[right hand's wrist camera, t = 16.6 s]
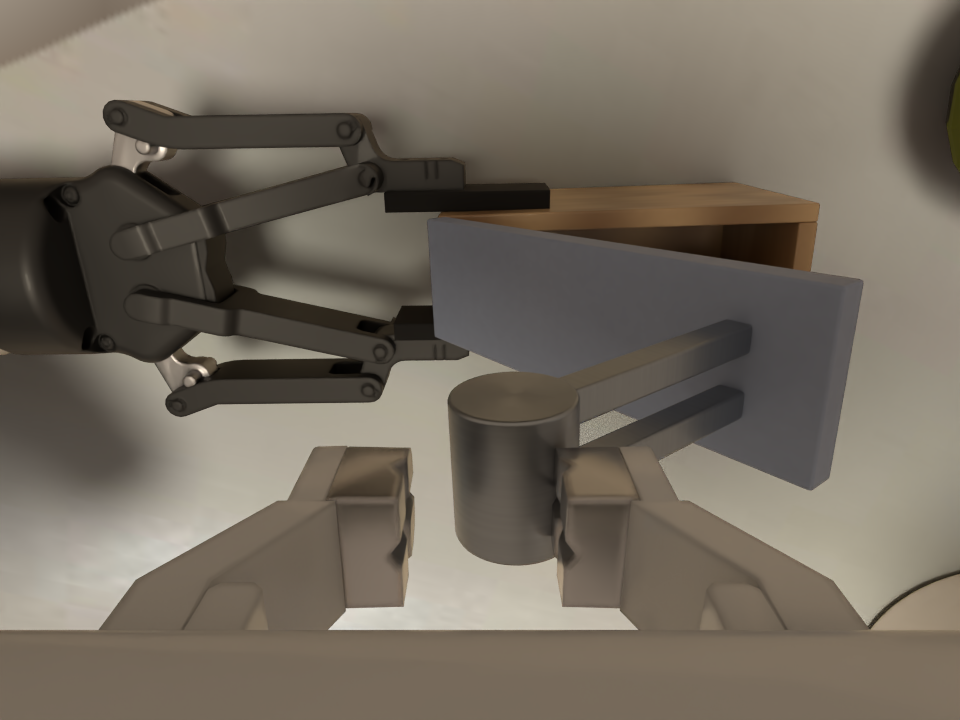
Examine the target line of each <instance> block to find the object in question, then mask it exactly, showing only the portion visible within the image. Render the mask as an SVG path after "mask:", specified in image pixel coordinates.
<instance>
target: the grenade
mask: <svg viewBox="0 0 960 720" xmlns="http://www.w3.org/2000/svg"><path fill="white" fill-rule="evenodd" d="M946 126H947V131H948V137H949V143H950V148H951V154H952V160H953V163H954V164H955V166H956V168H957V169H958V171H959V173H960V67H959V70H958V72H957V74H956V76H955V79H954V81H953V83H952V85H951V92H950V98H949V105H948V112H947V119H946Z"/></svg>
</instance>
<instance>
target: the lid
mask: <svg viewBox="0 0 960 720" xmlns="http://www.w3.org/2000/svg"><path fill="white" fill-rule="evenodd" d="M427 225H428V241H429V256H430V271H431V287H432V302H433V317H434V333H435V337H437V338H439V339H442V340H444V341H447V342H449V343H452V344H454V345H456V346H459V347H461V348H464V349H466V350H469V351H471V352H473V353H476V354H478V355H481V356H483V357H486V358H488V359H490V360H493V361H495V362H498V363H500V364H503V365H505V366H508V367H510V368H512V369H515V370H517V371H520V372H500V373H493V374H487V375H482V376H478V377H475V378H472V379H469V380H467V381H465V382H463V383H461V384H459V385H458V386H456V387H455V388H454V389H453V390H452V391H451V393H450V395H449V397H448V417H449V433H450V450H451V467H452V483H453V500H454V517H455V531H456V535H457V537H458V539H459V541H460V543H461V544H462V545H463V547H465V548H466V549H467V550H468V551H469V552H470V553H472V554H473V555H475V556H477V557H479V558H481V559H484V560H486V561H489V562H493V563H497V564H503V565H530V564H536V563H540V562H544V561H547V560H549V559H552V558H554V557H555V556H553V549H552V541H551V523H552V504H553V503H554V501H555V499H556V498H557V496H556V492H555V486H554V481H553V474H554V454H555V448H576V447H632V446H648V447H650V448H651V449H652V450H653V452H654V454H655V456H656V458H657V460H658V461H659V460H661V459H663V458H665V457H666V456H668V455H670V454H672V453H674V452H676V451H678V450H680V449H682V448H684V447H686V446H688V445H690V444H692V443H695V444H697V445H700V446H702V447H705V448H707V449H709V450H712V451H714V452H717V453H719V454H722V455H724V456H726V457H729V458H731V459H734V460H736V461H739V462H741V463H743V464H746V465H748V466H751V467H753V468H756V469H758V470H761V471H763V472H765V473H768V474H770V475H773V476H775V477H778V478H780V479H782V480H785V481H787V482H790V483H792V484H795V485H797V486H799V487H802V488H804V489H807V490H813V489H814V488H816V487H817V486H819V485H820V484H822V483H823V482H824V481H826V480H827V479H828V478H829V476H830V470H831V465H832V459H833V453H834V448H835V442H836V436H837V430H838V425H839V419H840V413H841V408H842V402H843V396H844V391H845V385H846V379H847V374H848V368H849V362H850V357H851V351H852V345H853V340H854V334H855V328H856V323H857V317H858V311H859V306H860V300H861V294H862V289H863V281H862V280H860V279H855V278H848V277H842V276H835V275H828V274H822V273H815V272H808V271H802V270H795V269H788V268H782V267H775V266H769V265H762V264H755V263H749V262H742V261H735V260H729V259H722V258H715V257H709V256H702V255H695V254H689V253H682V252H675V251H669V250H662V249H655V248H649V247H642V246H635V245H629V244H622V243H616V242H609V241H602V240H596V239H589V238H582V237H576V236H569V235H562V234H556V233H549V232H542V231H536V230H529V229H522V228H516V227H509V226H502V225H496V224H489V223H482V222H476V221H469V220H463V219H456V218H449V217H440V218H433V219H428V220H427ZM612 410H615V411H617V412H619V413H622V414H624V415H627V416H629V417H632V418H634V419H636V420H638V421H636V422H633V423H631V424H629V425H627V426H624V427H622V428H620V429H618V430H615V431H613V432H611V433H609V434H606V435H604V436H602V437H600V438H597V439H595V440H593V441H591V442H588V443H586V444H584V445H582V446H579V434H580V424H581V423H583V422H586V421H588V420H590V419H593V418H595V417H598V416H600V415H602V414H605V413H607V412H610V411H612Z"/></svg>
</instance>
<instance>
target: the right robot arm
mask: <svg viewBox="0 0 960 720" xmlns="http://www.w3.org/2000/svg"><path fill="white" fill-rule="evenodd" d="M412 476H413V463H412V452H411V448H396V447H347V446H325V447H315V448H314V449H313V451H312V453H311V454H310V456H309V458H308V460H307V462H306V464H305V466H304V468H303V470H302V472H301V474H300V476H299V478H298V480H297V482H296V484H295V486H294V488H293V490H292V492H291V494H290V496H289V498H288V500H287V501H276V502H275V503H273V504H271V505H269V506H267V507H266V508H264V509H262V510H260V511H259V512H257V513H255V514H253V515H251V516H250V517H248V518H246V519H244V520H242V521H241V522H239V523H237V524H235V525H233V526H232V527H230V528H228V529H226V530H224V531H223V532H221V533H219V534H217V535H215V536H214V537H212V538H210V539H208V540H207V541H205V542H203V543H201V544H199V545H198V546H196V547H194V548H192V549H190V550H189V551H187V552H185V553H183V554H181V555H180V556H178V557H176V558H174V559H172V560H171V561H169V562H167V563H165V564H163V565H162V566H160V567H158V568H156V569H155V570H153V571H151V572H149V573H147V574H146V575H144V576H142V577H140V578H138V579H137V580H135V582H134V583H133V584H132V586H131V587H130V588H129V590H128V591H127V593H126V594H125V595H124V597H123V598H122V599H121V601H120V602H119V603H118V605H117V606H116V607H115V609H114V610H113V611H112V613H111V614H110V615H109V617H108V618H107V619H106V621H105V622H104V623H103V625H102V626H101V627H100V629H99V630H0V720H960V574H957V575H954V576H950V577H947V578H944V579H941V580H938V581H936V582H933V583H931V584H929V585H927V586H924V587H922V588H920V589H918V590H917V591H915V592H913V593H911V594H910V595H908V596H906V597H905V598H903V599H902V600H900V601H899V602H898V603H896V604H895V605H894V606H892V607H891V608H890V609H889V610H888V611H887V612H886V613H885V614H884V615H882V616H881V617H880V619H879V620H878V621H877V622H876V623H875V624H874V625H873V627H872V628H871V629H869V628H868V627H867V625H866V624H865V623H864V621H863V620H862V619H861V617H860V616H859V615H858V613H857V612H856V611H855V609H854V608H853V607H852V605H851V604H850V603H849V601H848V600H847V599H846V597H845V596H844V595H843V593H842V592H841V591H840V589H839V588H838V587H837V585H836V584H835V583H834V581H832V580H831V579H829V578H827V577H825V576H823V575H822V574H820V573H818V572H816V571H814V570H813V569H811V568H809V567H807V566H805V565H804V564H802V563H800V562H798V561H796V560H795V559H793V558H791V557H789V556H787V555H786V554H784V553H782V552H780V551H778V550H777V549H775V548H773V547H771V546H769V545H767V544H766V543H764V542H762V541H760V540H758V539H757V538H755V537H753V536H751V535H749V534H748V533H746V532H744V531H742V530H740V529H739V528H737V527H735V526H733V525H731V524H730V523H728V522H726V521H724V520H722V519H721V518H719V517H717V516H715V515H713V514H712V513H710V512H708V511H706V510H704V509H703V508H701V507H699V506H697V505H695V504H693V503H692V502H690V501H679V500H678V498H677V496H676V494H675V492H674V490H673V488H672V486H671V485H670V483H669V481H668V479H667V477H666V475H665V473H664V471H663V469H662V467H661V466H660V464H659V462H658V460H657V458H656V456H655V454H654V452H653V450H652V449H651V448H650V447H648V446H632V447H576V448H555V454H554V474H553V481H554V486H555V492H556V496H557V498H556V499H555V501H554V503H553V504H552V523H551V541H552V549H553V556H555V557H556V558H557V579H558V585H559V591H560V596H561V602H562V607H594V608H620V611H621V612H622V613H623V614H624V615H625V616H626V617H627V618H628V619H629V620H630V621H631V622H632V623H633V625H634V626H635V627H636V628H637V629H638V630H328V629H329V628H330V627H331V626H332V625H333V624H334V623H335V622H336V621H337V620H338V619H339V618H340V617H341V616H342V615H343V614H344V613H345V611H346V609H345V608H370V607H404V601H405V595H406V589H407V583H408V576H409V571H408V558H410V557H411V556H412V550H413V542H414V527H415V506H414V496H413V495H412V494H411V493H410V488H411V482H412Z"/></svg>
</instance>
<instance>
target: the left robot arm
mask: <svg viewBox="0 0 960 720" xmlns="http://www.w3.org/2000/svg"><path fill="white" fill-rule="evenodd" d="M103 119H104V121H105V123H106V125H107V126H108V127H109V128H110V129H111V130H113V131H114V132H115V137H114V145H113V153H112V161H111V165H109V166H104V167H102V168H100V169H98V170H96V171H95V172H94V173H92V174H91V175H89V176H87V177H73V178H22V179H0V355H6V354H9V353H14V354H21V355H40V354H98V353H113V352H116V353H122V354H126V355H129V356H132V357H134V358H136V359H138V360H140V361H143V362H148V363H155V365H156V366H157V368H158V370H159V371H160V373H161V375H162V376H163V378H164V379H165V381H166V383H167V384H168V386H169V388H170V389H171V391H172V393H171V394H170V395H168V397H167V398H166V402H165V405H166V407H167V410H168V411H169V412H170V413H171V414H173V415H175V416H179V417H183V416H187V415H190V414H193V413H195V412H198V411H201V410H204V409H206V408H209V407H212V406H214V405H217V404H281V403H361V402H374V401H376V400H378V399H379V398H380V396H381V395H382V392H383V390H384V387H385V385H386V382H387V380H388V377H389V374H390V371H391V367H392V366H393V365H394V364H396V363H397V362H400V361H407V360H459V359H461V358H464V357H467V356H469V350H466V349H464V348H461V347H459V346H456V345H454V344H452V343H449V342H447V341H444V340H442V339H439V338H437V337H435V333H434V317H433V306H402V307H401V309H400V311H399V313H398V315H397V317H396V318H394V317H393V319H392V321H391V322H389V321H385V320H380V319H375V318H371V317H366V316H361V315H357V314H352V313H347V312H343V311H338V310H333V309H329V308H324V307H319V306H315V305H310V304H305V303H301V302H296V301H291V300H287V299H282V298H277V297H273V296H268V295H263V294H260V293H258V292H257V291H256V290H254V289H252V288H248V287H243V286H238V285H234V284H233V281H232V276H231V274H230V272H229V270H228V267H227V265H226V263H225V251H226V238H225V233H229V232H232V231H236V230H239V229H243V228H247V227H250V226H254V225H258V224H261V223H265V222H269V221H272V220H276V219H280V218H284V217H287V216H291V215H295V214H298V213H302V212H306V211H309V210H313V209H317V208H320V207H324V206H328V205H331V204H335V203H339V202H342V201H346V200H350V199H353V198H357V197H361V196H364V195H368V196H369V195H371V194H372V193H375V192H385V193H384V200H385V213H391V212H447V211H498V210H526V209H550V189H549V188H548V186H547V185H546V184H545V183H518V184H466V178H465V162H463V161H461V160H458V159H455V158H453V157H452V158H401V159H396V158H391V157H388V156H387V155H385V154H384V153H383V152H382V151H381V150H380V148H379V146H378V144H377V142H376V139H375V137H374V135H373V132H372V126H371V122H370V121H369V119H368V118H367V117H366V116H364V115H363V114H358V113H325V114H268V115H211V116H191V115H188V114H185V113H182V112H179V111H177V110H174V109H171V108H168V107H165V106H162V105H160V104H157V103H154V102H149V101H132V100H113V101H109V102H108V103H107V104H106V105H105V106H104V109H103ZM294 147H340V149H341V152H342V154H343V156H344V158H345V161H346V163H347V165H348V166H344V167H341V168H337V169H334V170H330V171H327V172H323V173H319V174H316V175H312V176H309V177H305V178H301V179H298V180H294V181H291V182H287V183H283V184H280V185H276V186H273V187H269V188H265V189H262V190H258V191H255V192H251V193H247V194H244V195H240V196H236V197H232V198H229V199H225V200H222V201H218V202H214V203H211V204H207V205H204V206H201V205H199V204H198V203H196V202H195V201H193V200H192V199H190V198H188V197H187V196H185V195H184V194H182V193H181V192H179V191H178V190H176V189H174V188H173V187H171V186H170V185H168V184H167V183H165V182H164V181H162V180H161V179H159V178H157V177H156V176H154V175H153V174H151V173H150V172H148V171H147V167H148V165H149V164H150V163H151V162H152V161H153V162H157V161H164V160H169V159H171V158H173V157H174V156H175V154H176V152H177V149H233V148H294ZM200 332H204V333H208V334H213V335H218V336H233V335H241V336H246V337H250V338H255V339H260V340H265V341H269V342H274V343H279V344H284V345H289V346H293V347H298V348H303V349H308V350H312V351H317V352H322V353H327V354H331V355H336V356H341V357H346V358H338V359H267V360H234V361H229V362H224V363H221V364H218V365H217V362H216V360H215V359H214V358H212V357H204V356H202V357H193V356H190V355H188V354H187V353H185V352H184V351H183V349H182V347H183V346H184V345H186V344H187V343H188V342H189V341H191V340H192V339H193V338H194V337H195V336H197V335H198V334H199V333H200Z"/></svg>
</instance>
